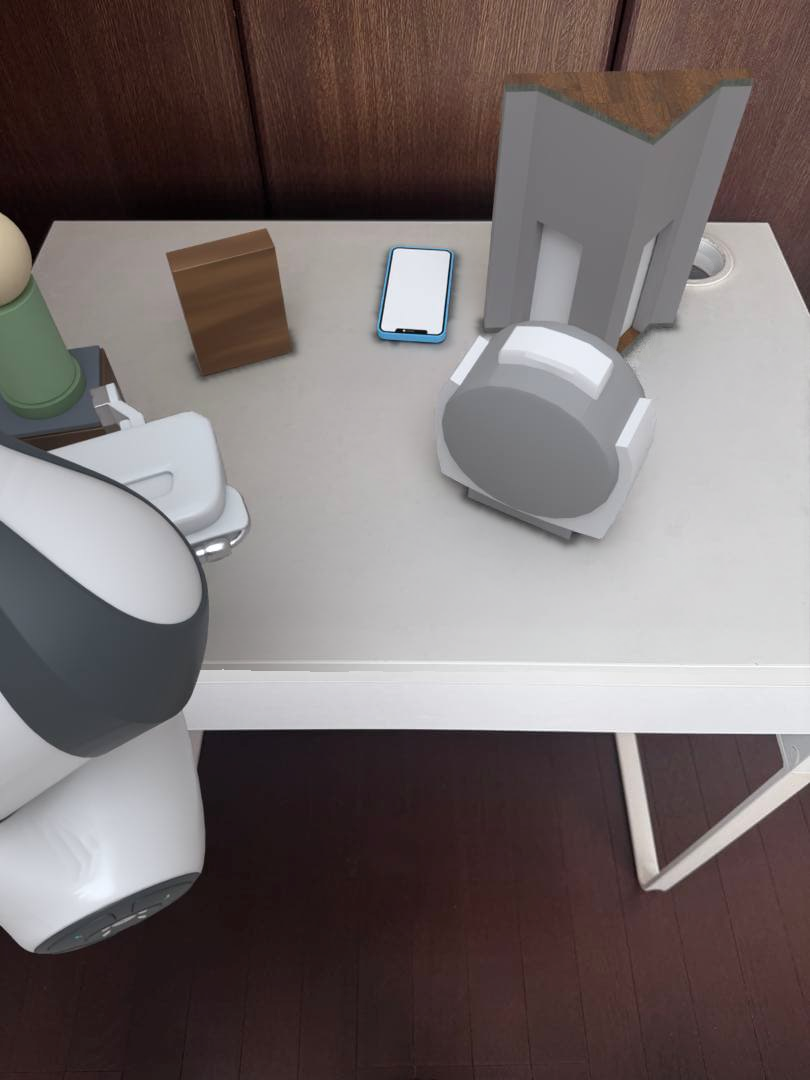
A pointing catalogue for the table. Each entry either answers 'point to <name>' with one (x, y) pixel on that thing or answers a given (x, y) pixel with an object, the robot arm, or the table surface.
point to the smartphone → (416, 294)
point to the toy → (31, 339)
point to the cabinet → (606, 194)
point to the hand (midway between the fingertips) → (25, 415)
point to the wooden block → (232, 300)
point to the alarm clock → (545, 427)
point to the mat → (71, 419)
